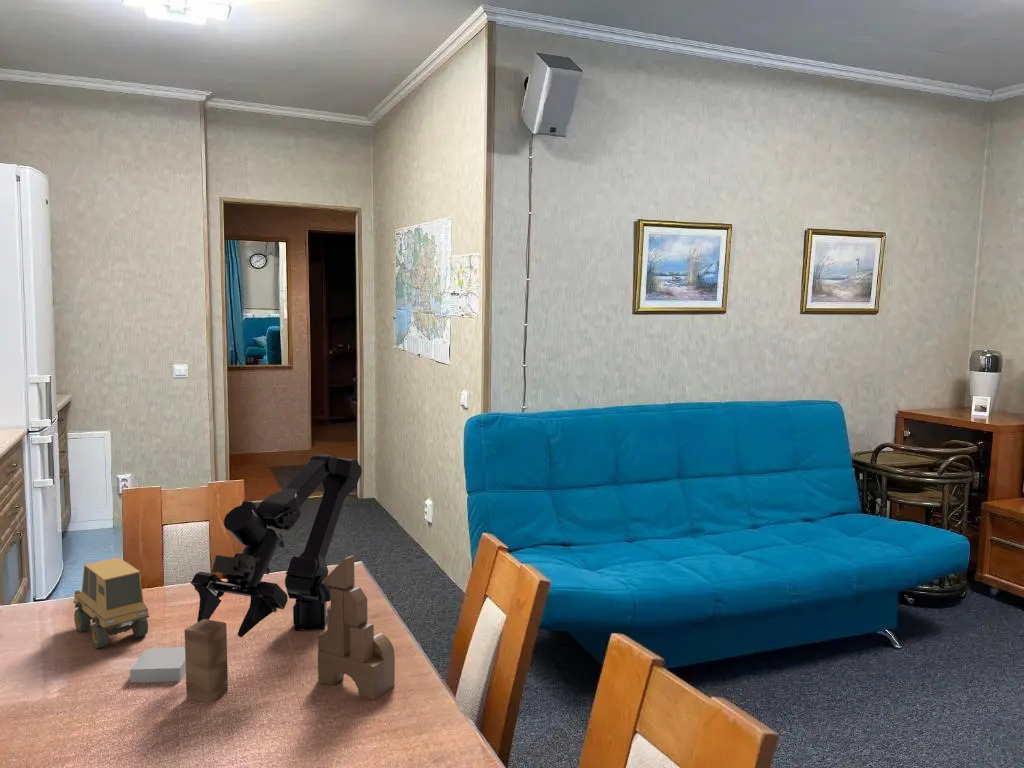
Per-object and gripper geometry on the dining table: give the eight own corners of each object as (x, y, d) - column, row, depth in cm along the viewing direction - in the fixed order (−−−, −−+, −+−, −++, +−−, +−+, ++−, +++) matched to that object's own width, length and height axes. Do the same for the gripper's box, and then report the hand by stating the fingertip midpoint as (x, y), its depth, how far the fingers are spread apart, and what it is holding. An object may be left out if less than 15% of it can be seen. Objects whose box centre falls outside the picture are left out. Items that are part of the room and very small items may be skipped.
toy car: (120, 614, 179) (118, 550, 177) (153, 640, 166) (151, 571, 164) (70, 627, 172) (67, 560, 170) (101, 655, 158) (98, 583, 157)
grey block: (194, 661, 157) (194, 647, 157) (180, 683, 148) (179, 668, 148) (147, 662, 156) (147, 648, 156) (130, 684, 147) (130, 669, 147)
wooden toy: (397, 685, 148) (397, 556, 145) (373, 700, 142) (373, 566, 139) (335, 665, 156) (334, 542, 153) (311, 678, 150) (309, 551, 147)
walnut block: (205, 685, 147) (204, 618, 145) (228, 690, 145) (226, 622, 143) (186, 698, 142) (184, 629, 140) (209, 703, 140) (207, 633, 139)
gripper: (196, 531, 152) (154, 606, 143) (278, 542, 146) (239, 621, 136) (224, 558, 160) (186, 631, 151) (303, 570, 154) (268, 647, 145)
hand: (218, 632), depth 145 cm, fingers open, 9 cm apart
